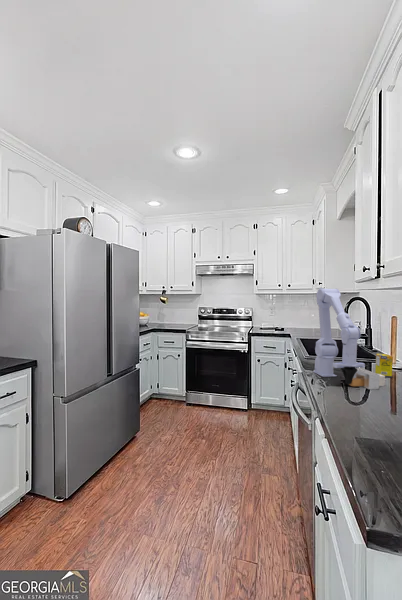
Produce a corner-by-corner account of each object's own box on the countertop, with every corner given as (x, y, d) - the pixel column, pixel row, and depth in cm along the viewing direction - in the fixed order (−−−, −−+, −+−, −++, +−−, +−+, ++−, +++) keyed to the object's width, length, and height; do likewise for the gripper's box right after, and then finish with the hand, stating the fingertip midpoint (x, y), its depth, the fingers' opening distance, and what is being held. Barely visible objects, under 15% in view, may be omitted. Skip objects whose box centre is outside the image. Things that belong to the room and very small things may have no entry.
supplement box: (392, 378, 155) (393, 356, 154) (379, 377, 156) (380, 355, 155) (387, 374, 160) (388, 354, 160) (374, 374, 162) (375, 353, 161)
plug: (347, 384, 142) (348, 374, 141) (380, 383, 145) (380, 373, 145) (353, 386, 138) (353, 376, 137) (386, 385, 141) (387, 376, 141)
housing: (351, 381, 146) (352, 368, 146) (361, 381, 147) (361, 368, 147) (368, 389, 135) (369, 374, 134) (378, 389, 135) (379, 374, 135)
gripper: (340, 355, 134) (339, 386, 134) (370, 355, 136) (368, 385, 137) (330, 352, 141) (329, 381, 141) (359, 352, 143) (358, 381, 144)
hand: (348, 383), depth 139 cm, fingers closed
